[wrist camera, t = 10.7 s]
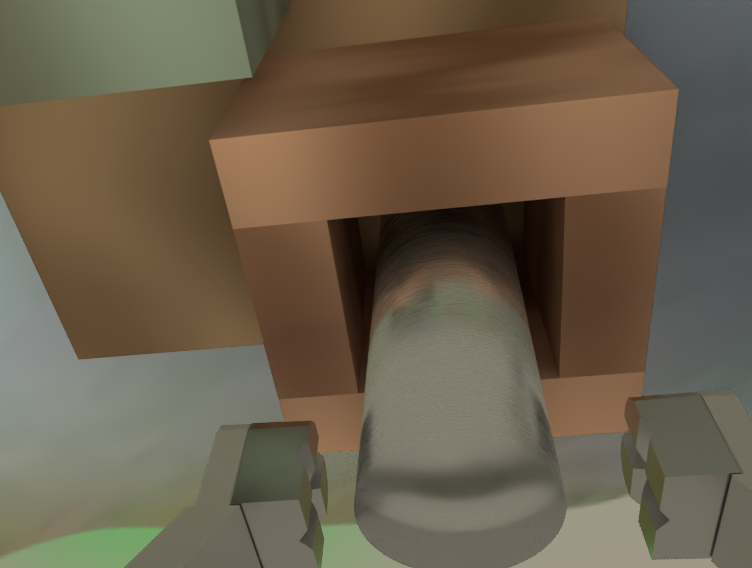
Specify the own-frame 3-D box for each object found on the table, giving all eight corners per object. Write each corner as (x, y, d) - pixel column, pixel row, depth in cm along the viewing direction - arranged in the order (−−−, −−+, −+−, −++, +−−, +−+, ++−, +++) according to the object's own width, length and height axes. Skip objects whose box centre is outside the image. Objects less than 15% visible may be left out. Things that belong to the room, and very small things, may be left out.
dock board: (646, -601, 12) (861, -953, 6) (592, 287, 22) (657, 445, 16) (-236, -433, 13) (-678, -604, 8) (95, 329, 23) (4, 488, 18)
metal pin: (497, 134, 17) (569, 432, 9) (500, 239, 19) (563, 572, 11) (376, 145, 18) (339, 443, 9) (390, 247, 19) (368, 577, 11)
